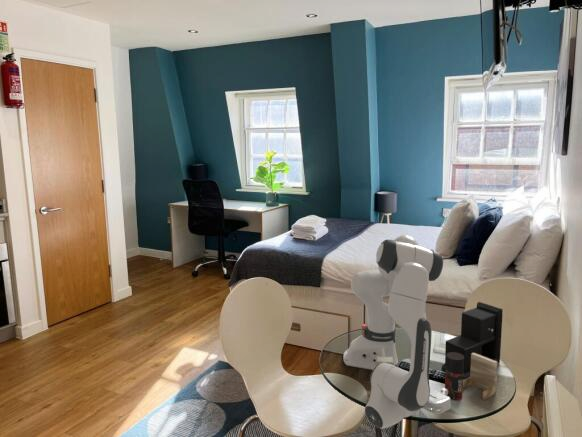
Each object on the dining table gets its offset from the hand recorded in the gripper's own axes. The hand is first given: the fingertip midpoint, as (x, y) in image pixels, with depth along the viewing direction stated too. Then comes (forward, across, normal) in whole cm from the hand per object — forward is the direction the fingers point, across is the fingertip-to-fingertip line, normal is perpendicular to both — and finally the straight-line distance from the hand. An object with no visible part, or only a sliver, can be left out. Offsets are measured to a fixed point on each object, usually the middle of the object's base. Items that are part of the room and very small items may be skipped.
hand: (433, 384), depth 148 cm
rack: (+22, -4, +8) cm, 23 cm away
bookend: (+36, +8, +9) cm, 38 cm away
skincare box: (-4, +18, +9) cm, 20 cm away
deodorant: (+12, 0, +9) cm, 15 cm away
